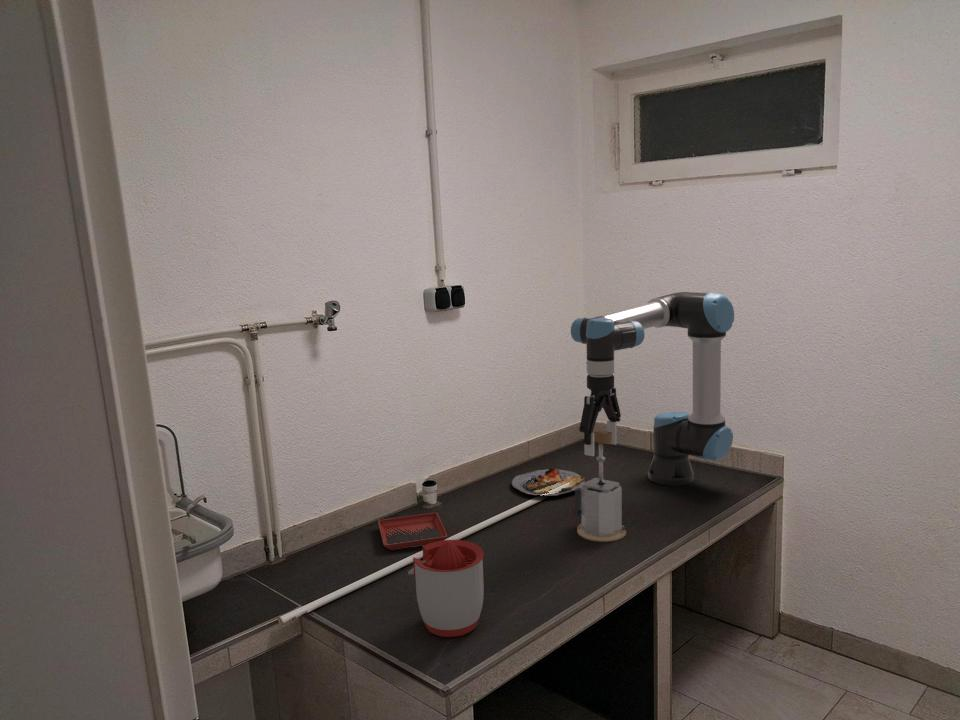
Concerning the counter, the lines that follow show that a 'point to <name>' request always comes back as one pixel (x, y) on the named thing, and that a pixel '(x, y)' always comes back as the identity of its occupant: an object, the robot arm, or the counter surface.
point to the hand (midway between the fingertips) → (600, 449)
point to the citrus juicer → (449, 586)
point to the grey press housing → (600, 511)
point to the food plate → (549, 481)
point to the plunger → (601, 450)
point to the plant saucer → (411, 529)
